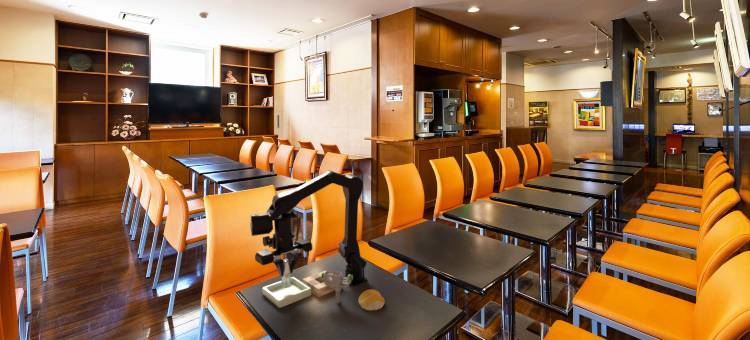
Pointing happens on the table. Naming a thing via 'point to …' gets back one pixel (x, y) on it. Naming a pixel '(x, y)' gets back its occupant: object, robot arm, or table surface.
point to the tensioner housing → (318, 285)
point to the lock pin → (286, 274)
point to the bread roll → (371, 300)
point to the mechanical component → (336, 281)
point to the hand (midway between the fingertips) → (286, 274)
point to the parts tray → (286, 292)
